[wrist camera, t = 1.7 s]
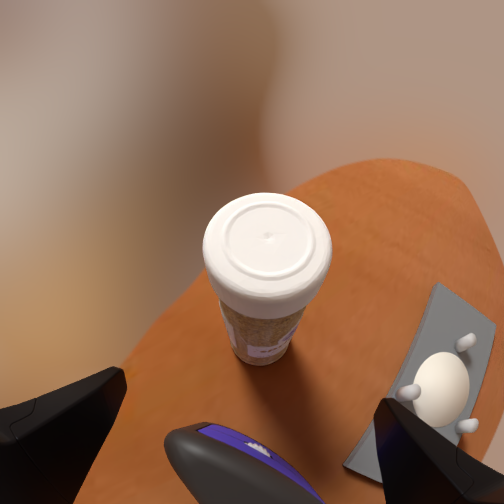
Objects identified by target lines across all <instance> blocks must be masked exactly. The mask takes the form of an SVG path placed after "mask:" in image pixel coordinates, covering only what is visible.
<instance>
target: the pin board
mask: <svg viewBox="0 0 504 504" xmlns="http://www.w3.org/2000/svg"><path fill="white" fill-rule="evenodd" d="M495 330H496V324H494V323H493V322H492V321H491V320H489V319H488V318H487V317H485V316H484V315H483V314H482V313H480V312H479V311H478V310H476V309H475V308H474V307H472V306H471V305H470V304H468V303H467V302H466V301H464V300H463V299H462V298H460V297H459V296H457V295H456V294H455V293H453V292H452V291H451V290H449V289H448V288H446V287H445V286H444V285H442V284H441V283H439V282H438V283H437V284H435V285H434V286H433V289H432V292H431V295H430V298H429V301H428V303H427V306H426V309H425V312H424V315H423V317H422V320H421V322H420V325H419V328H418V330H417V333H416V335H415V337H414V340H413V342H412V344H411V347H410V349H409V351H408V354H407V356H406V358H405V360H404V362H403V364H402V367H401V369H400V371H399V373H398V375H397V377H396V379H395V381H394V383H393V385H392V387H391V388H390V390H389V392H388V394H387V396H386V398H391V397H392V398H394V399H396V400H397V401H398V402H400V403H401V404H402V405H403V406H405V407H406V408H407V409H409V410H410V411H411V412H412V413H414V414H415V415H416V416H418V417H419V418H420V419H422V420H423V421H424V422H425V423H427V424H428V425H429V426H431V427H432V428H433V429H435V430H436V431H437V432H439V433H440V434H441V435H443V436H444V437H445V438H447V439H448V440H449V441H451V442H452V443H453V444H455V445H456V446H457V444H458V442H459V440H460V438H461V436H462V434H463V433H473V432H475V431H476V430H477V428H478V420H477V419H469V417H470V415H471V412H472V410H473V407H474V404H475V402H476V399H477V396H478V393H479V390H480V387H481V384H482V381H483V378H484V375H485V371H486V368H487V364H488V360H489V357H490V353H491V348H492V344H493V340H494V335H495ZM343 465H344V466H346V467H347V468H350V469H352V470H354V471H356V472H358V473H360V474H362V475H365V476H367V477H369V478H371V479H374V480H376V481H378V482H381V483H382V477H381V472H380V467H379V462H378V457H377V450H376V439H375V429H374V420H372V422H371V424H370V425H369V427H368V428H367V430H366V431H365V433H364V435H363V436H362V438H361V439H360V441H359V442H358V444H357V445H356V447H355V448H354V450H353V451H352V452H351V454H350V455H349V457H348V458H347V459H346V461H345V462H344V464H343Z"/></svg>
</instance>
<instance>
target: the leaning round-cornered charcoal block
mask: <svg viewBox="0 0 504 504" xmlns="http://www.w3.org/2000/svg"><path fill="white" fill-rule="evenodd" d="M164 448H165V452H166V455H167V457H168V459H169V462H170V464H171V465H172V467H173V469H174V470H175V472H176V473H177V475H178V476H179V478H180V479H181V480H182V482H183V483H184V484H185V486H186V487H187V489H188V490H189V491H190V492H191V494H192V495H193V496H194V498H195V499H196V500H197V501H198V503H199V504H325V503H324V502H323V500H322V499H321V498H320V497H319V496H318V494H317V493H316V492H315V491H314V489H313V488H312V487H311V486H310V484H309V483H308V482H307V481H306V480H305V479H304V478H303V477H302V476H301V474H300V473H299V472H298V471H296V470H295V469H294V468H293V467H292V466H291V465H290V464H289V463H287V462H286V461H285V460H284V459H283V458H281V457H280V456H279V455H277V454H276V453H274V452H273V451H272V450H270V449H269V448H267V447H265V446H264V445H262V444H261V443H259V442H257V441H255V440H254V439H252V438H250V437H248V436H246V435H244V434H242V433H240V432H237V431H235V430H233V429H230V428H227V427H225V426H221V425H218V424H214V423H208V422H201V423H198V424H194V425H190V426H187V427H183V428H179V429H175V430H173V431H171V432H170V433H168V434H167V436H166V437H165V440H164ZM274 468H275V469H274Z"/></svg>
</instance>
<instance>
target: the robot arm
mask: <svg viewBox="0 0 504 504" xmlns="http://www.w3.org/2000/svg"><path fill="white" fill-rule="evenodd" d="M126 391H127V383H126V379H125V374H124V371H123V369H121V368H118V367H114V366H113V367H109V368H107V369H105V370H103V371H100V372H98V373H96V374H93V375H91V376H88V377H86V378H84V379H81V380H79V381H77V382H74V383H72V384H69V385H67V386H64V387H62V388H59V389H57V390H54V391H52V392H49V393H47V394H44V395H42V396H39V397H37V398H34V399H31V400H28V401H26V402H23V403H20V404H17V405H13V406H10V407H6V408H2V409H0V504H73V502H74V500H75V498H76V496H77V494H78V492H79V490H80V488H81V486H82V484H83V482H84V480H85V478H86V476H87V474H88V472H89V470H90V468H91V466H92V464H93V462H94V460H95V458H96V456H97V454H98V453H99V451H100V449H101V447H102V445H103V443H104V441H105V439H106V437H107V435H108V434H109V432H110V430H111V428H112V426H113V424H114V422H115V419H116V417H117V414H118V412H119V409H120V407H121V404H122V402H123V399H124V397H125V394H126ZM373 420H374V429H375V439H376V450H377V457H378V462H379V467H380V472H381V477H382V483H383V488H384V494H385V500H386V504H504V475H503V474H501V473H499V472H497V471H495V470H493V469H492V468H490V467H488V466H486V465H484V464H483V463H481V462H479V461H478V460H476V459H474V458H473V457H471V456H470V455H468V454H467V453H466V452H464V451H463V450H461V449H460V448H459V447H457V446H456V445H455V444H453V443H452V442H451V441H449V440H448V439H447V438H445V437H444V436H443V435H441V434H440V433H439V432H437V431H436V430H435V429H433V428H432V427H431V426H429V425H428V424H427V423H425V422H424V421H423V420H422V419H420V418H419V417H418V416H416V415H415V414H414V413H412V412H411V411H410V410H409V409H407V408H406V407H405V406H403V405H402V404H401V403H400V402H398V401H397V400H396V399H394V398H392V397H391V398H383V399H382V400H381V401H380V403H379V405H378V407H377V409H376V411H375V414H374V419H373Z"/></svg>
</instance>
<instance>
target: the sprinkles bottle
mask: <svg viewBox="0 0 504 504" xmlns="http://www.w3.org/2000/svg"><path fill="white" fill-rule="evenodd" d="M203 256H204V261H205V266H206V270H207V274H208V277H209V281H210V283H211V285H212V287H213V289H214V291H215V293H216V294H217V295H218V297H219V304H220V309H221V313H222V316H223V319H224V323H225V326H226V329H227V332H228V335H229V338H230V342H231V346H232V348H233V350H234V352H235V354H236V355H237V356H238V357H239V358H240V359H241V360H242V361H244V362H246V363H248V364H251V365H258V366H261V365H262V366H264V365H268V364H271V363H273V362H275V361H277V360H278V359H279V358H281V357H282V356H283V354H284V353H285V352H286V350H287V348H288V345H289V342H290V340H291V338H292V336H293V334H294V332H295V330H296V328H297V326H298V324H299V322H300V320H301V318H302V316H303V312H304V310H305V308H306V305H307V304H308V303H310V302H311V300H312V299H313V298H314V297H315V295H316V294H317V292H318V291H319V289H320V287H321V285H322V283H323V281H324V279H325V277H326V274H327V272H328V270H329V267H330V264H331V259H332V242H331V237H330V234H329V231H328V229H327V227H326V225H325V223H324V222H323V220H322V219H321V218H320V217H319V215H318V214H317V213H316V212H315V211H314V210H312V209H311V208H310V207H309V206H307V205H306V204H304V203H303V202H301V201H299V200H297V199H295V198H292V197H289V196H285V195H281V194H275V193H256V194H250V195H247V196H244V197H241V198H238V199H236V200H233V201H231V202H230V203H228V204H227V205H225V206H224V207H223V208H221V209H220V210H219V211H218V212H217V213H216V214H215V216H214V217H213V218H212V220H211V221H210V223H209V225H208V227H207V229H206V231H205V235H204V240H203Z"/></svg>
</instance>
